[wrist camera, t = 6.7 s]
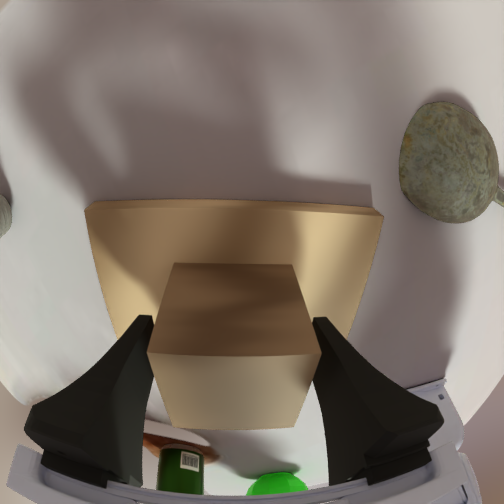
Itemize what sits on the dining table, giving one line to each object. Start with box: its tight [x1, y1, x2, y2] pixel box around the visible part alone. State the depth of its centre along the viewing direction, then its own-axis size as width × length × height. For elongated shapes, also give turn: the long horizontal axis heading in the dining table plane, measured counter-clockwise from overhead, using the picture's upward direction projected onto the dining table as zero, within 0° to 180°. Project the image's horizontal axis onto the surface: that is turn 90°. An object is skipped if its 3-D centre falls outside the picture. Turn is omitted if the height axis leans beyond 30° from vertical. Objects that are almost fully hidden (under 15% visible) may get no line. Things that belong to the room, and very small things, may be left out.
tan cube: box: [147, 262, 322, 430], centre depth 12 cm, size 6×6×6 cm
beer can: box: [156, 444, 204, 495], centre depth 21 cm, size 5×5×12 cm
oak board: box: [84, 199, 384, 340], centre depth 15 cm, size 14×10×1 cm
